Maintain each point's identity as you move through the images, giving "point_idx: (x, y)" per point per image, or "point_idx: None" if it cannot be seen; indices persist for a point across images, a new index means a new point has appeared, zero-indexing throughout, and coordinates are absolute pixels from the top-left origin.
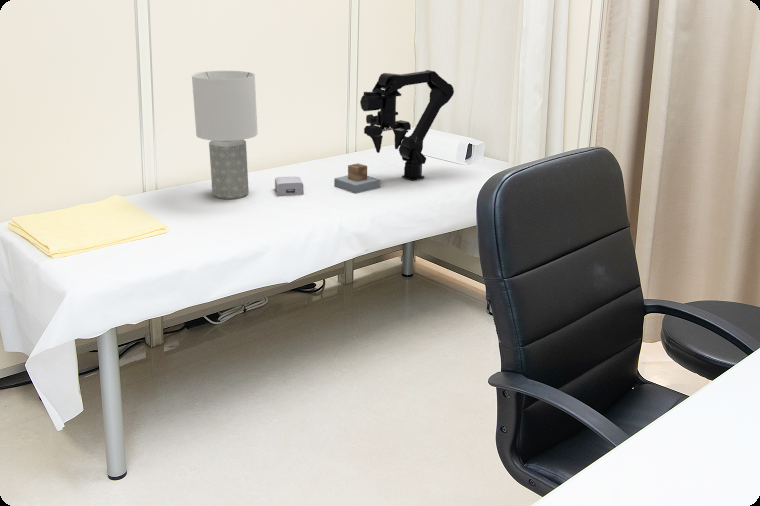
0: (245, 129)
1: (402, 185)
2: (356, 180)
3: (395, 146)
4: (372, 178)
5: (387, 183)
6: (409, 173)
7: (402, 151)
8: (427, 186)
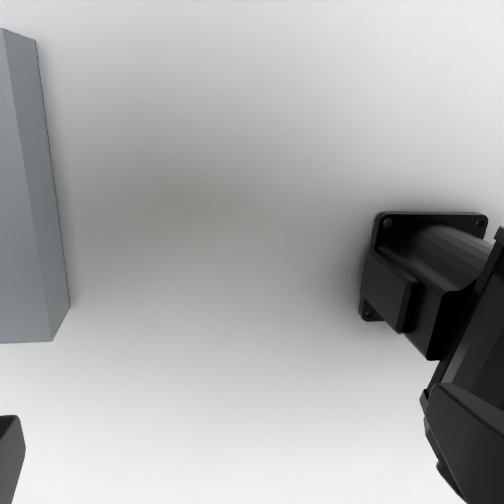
0: None
1: (231, 349)
2: None
3: (458, 418)
4: (9, 282)
5: (186, 262)
6: (378, 312)
7: (492, 371)
8: (320, 429)
